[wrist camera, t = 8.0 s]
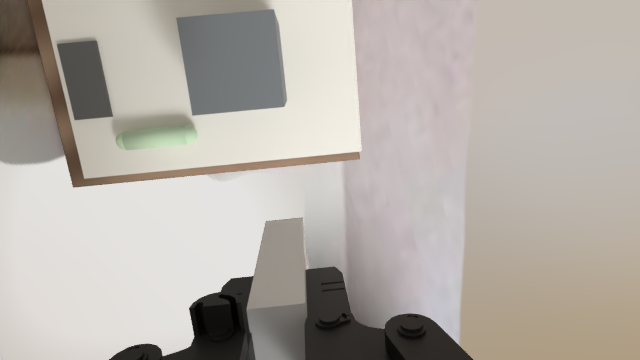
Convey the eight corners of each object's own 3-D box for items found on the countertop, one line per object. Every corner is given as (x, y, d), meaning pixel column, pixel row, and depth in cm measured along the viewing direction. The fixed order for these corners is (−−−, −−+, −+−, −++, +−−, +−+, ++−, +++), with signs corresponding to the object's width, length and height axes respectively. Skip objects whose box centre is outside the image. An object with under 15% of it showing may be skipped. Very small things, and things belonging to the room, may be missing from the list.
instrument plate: (359, 148, 38) (379, 171, 28) (92, 175, 37) (25, 207, 28) (346, -45, 34) (364, -90, 25) (46, -20, 33) (-49, -57, 24)
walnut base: (355, 152, 41) (359, 159, 38) (90, 178, 40) (73, 187, 37) (341, -47, 37) (345, -59, 33) (43, -22, 36) (19, -31, 33)
